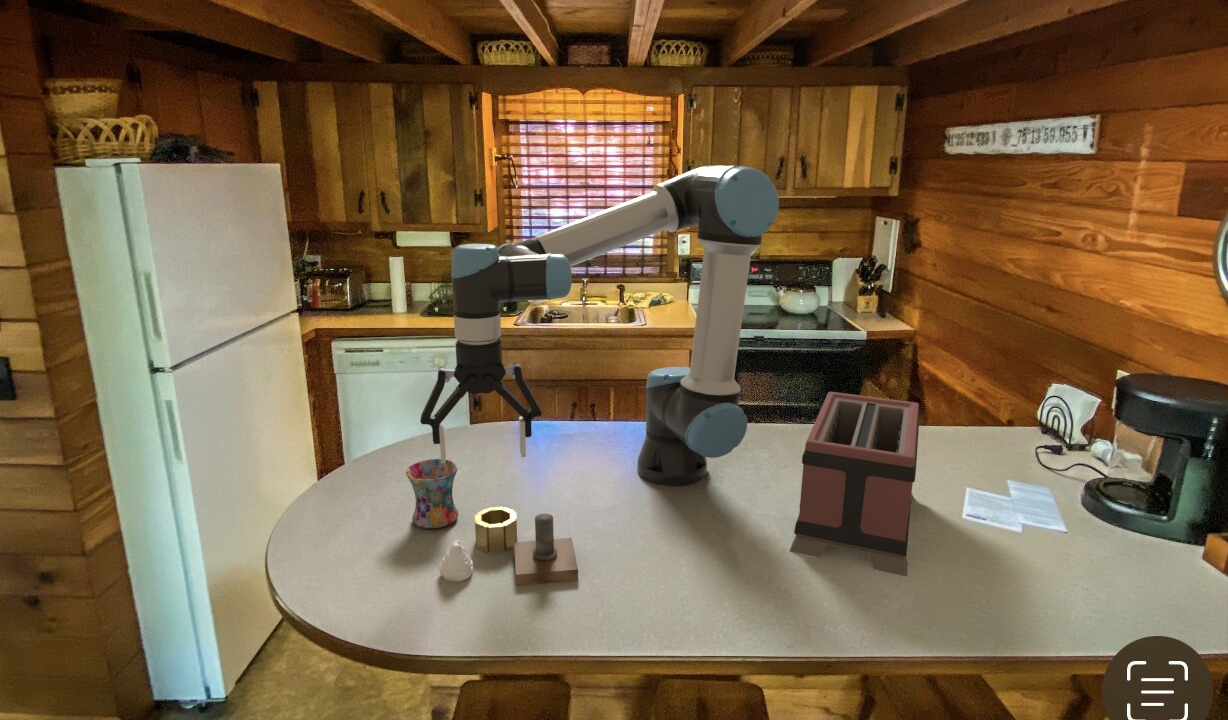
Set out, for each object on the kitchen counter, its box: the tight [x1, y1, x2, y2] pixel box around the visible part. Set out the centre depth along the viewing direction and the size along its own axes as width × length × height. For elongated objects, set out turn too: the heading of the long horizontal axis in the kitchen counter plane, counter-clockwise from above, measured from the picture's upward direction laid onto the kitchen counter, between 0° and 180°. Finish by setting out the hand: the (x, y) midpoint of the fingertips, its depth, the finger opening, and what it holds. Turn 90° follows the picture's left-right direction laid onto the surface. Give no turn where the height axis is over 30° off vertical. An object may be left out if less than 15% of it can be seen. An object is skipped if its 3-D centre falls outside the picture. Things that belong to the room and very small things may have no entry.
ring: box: [474, 506, 518, 554], centre depth 128 cm, size 7×7×5 cm
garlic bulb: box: [438, 539, 474, 583], centre depth 118 cm, size 6×6×5 cm
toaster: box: [789, 391, 921, 577], centre depth 135 cm, size 19×34×21 cm, turn 157°
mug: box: [405, 458, 459, 529], centre depth 136 cm, size 12×9×11 cm
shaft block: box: [513, 513, 579, 586], centre depth 120 cm, size 10×10×9 cm
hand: (483, 457), depth 125 cm, fingers open, 13 cm apart
